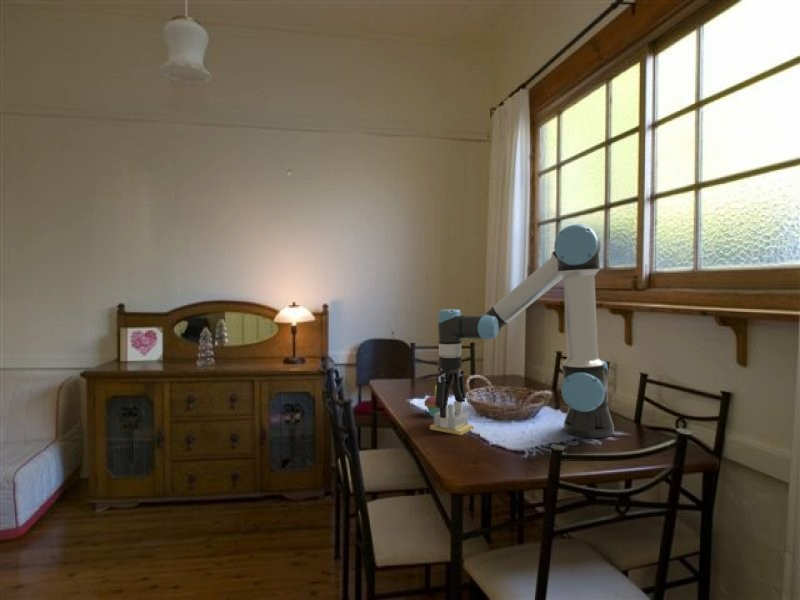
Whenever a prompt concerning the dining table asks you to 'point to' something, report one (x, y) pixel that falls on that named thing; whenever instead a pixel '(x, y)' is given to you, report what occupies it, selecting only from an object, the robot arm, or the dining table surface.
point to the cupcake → (432, 404)
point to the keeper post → (458, 431)
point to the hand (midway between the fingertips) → (451, 424)
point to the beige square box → (453, 419)
